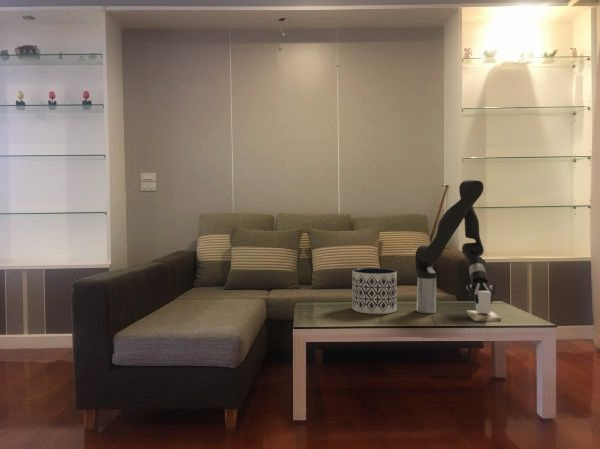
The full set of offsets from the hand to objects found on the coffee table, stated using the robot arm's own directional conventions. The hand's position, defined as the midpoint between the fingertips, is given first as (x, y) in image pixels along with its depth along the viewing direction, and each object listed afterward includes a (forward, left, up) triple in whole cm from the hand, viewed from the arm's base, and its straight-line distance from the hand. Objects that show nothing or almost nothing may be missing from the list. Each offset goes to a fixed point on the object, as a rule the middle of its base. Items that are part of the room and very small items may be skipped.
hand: (484, 302), depth 237 cm
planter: (-51, +13, -7) cm, 53 cm away
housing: (0, +2, -5) cm, 5 cm away
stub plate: (0, +2, -7) cm, 7 cm away
